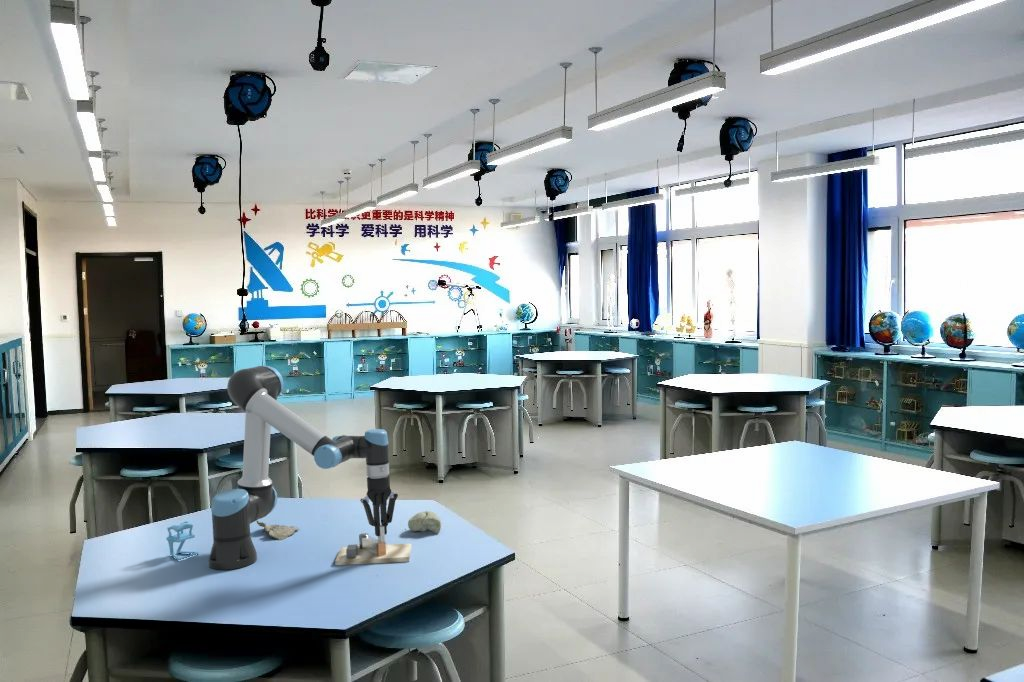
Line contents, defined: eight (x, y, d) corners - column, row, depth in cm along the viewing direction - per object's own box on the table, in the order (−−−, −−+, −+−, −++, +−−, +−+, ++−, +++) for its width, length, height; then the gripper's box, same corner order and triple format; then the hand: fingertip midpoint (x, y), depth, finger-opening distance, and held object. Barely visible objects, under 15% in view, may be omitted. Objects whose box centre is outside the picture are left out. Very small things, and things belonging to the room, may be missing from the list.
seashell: (404, 515, 280) (413, 504, 290) (404, 535, 282) (413, 524, 291) (438, 519, 278) (446, 508, 287) (438, 540, 279) (445, 528, 289)
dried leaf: (293, 540, 279) (292, 527, 278) (248, 542, 278) (247, 529, 277) (303, 526, 296) (302, 513, 296) (261, 528, 295) (261, 515, 295)
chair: (183, 551, 269) (181, 517, 268) (199, 554, 265) (197, 520, 264) (163, 558, 262) (162, 523, 262) (179, 561, 258) (177, 526, 257)
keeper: (346, 558, 252) (346, 549, 252) (348, 553, 257) (348, 544, 257) (355, 558, 252) (355, 549, 252) (357, 553, 257) (357, 544, 257)
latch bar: (357, 547, 263) (357, 534, 263) (365, 545, 265) (365, 532, 265) (378, 556, 253) (377, 543, 253) (386, 554, 255) (386, 541, 255)
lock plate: (335, 565, 250) (335, 560, 250) (341, 551, 264) (341, 546, 264) (409, 561, 252) (408, 557, 252) (411, 547, 266) (411, 543, 266)
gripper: (364, 481, 250) (368, 551, 251) (400, 474, 257) (403, 543, 258) (355, 476, 256) (359, 545, 257) (391, 470, 263) (394, 537, 265)
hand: (381, 544), depth 258 cm, fingers closed
